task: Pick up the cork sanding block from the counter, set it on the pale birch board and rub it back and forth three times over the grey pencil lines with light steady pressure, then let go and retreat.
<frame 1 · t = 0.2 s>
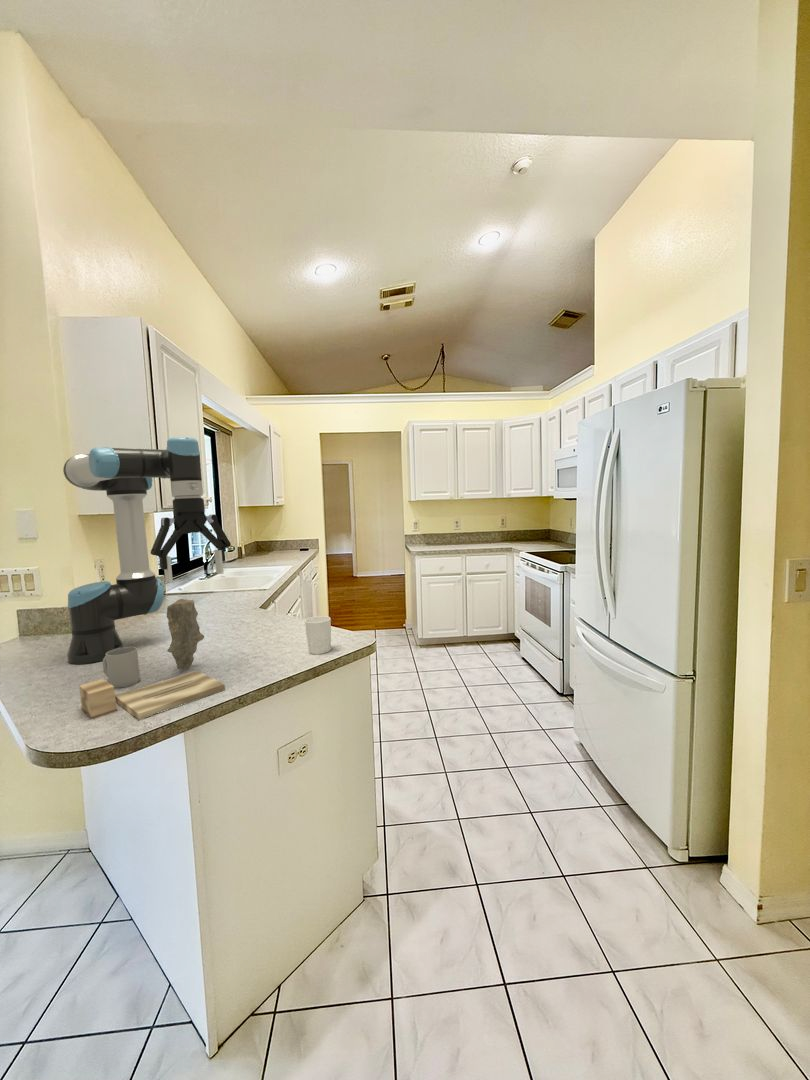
hand: (195, 577, 125), 28 cm above the countertop, fingers open, 13 cm apart
sanding block: (99, 710, 110), on the countertop
board: (171, 695, 116), on the countertop
white cup: (320, 651, 145), on the countertop
stone tool: (188, 669, 135), on the countertop
cup: (120, 683, 127), on the countertop
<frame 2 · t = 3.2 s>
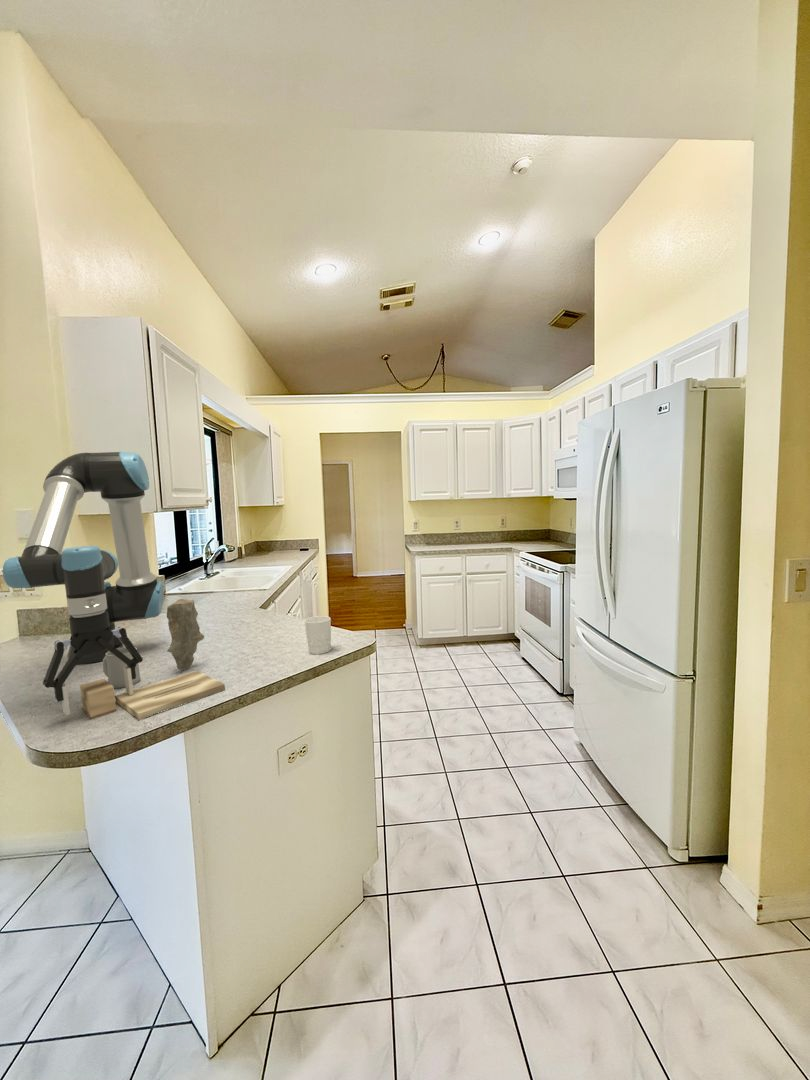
hand: (99, 702, 110), 2 cm above the countertop, fingers open, 12 cm apart
nothing on the countertop moved.
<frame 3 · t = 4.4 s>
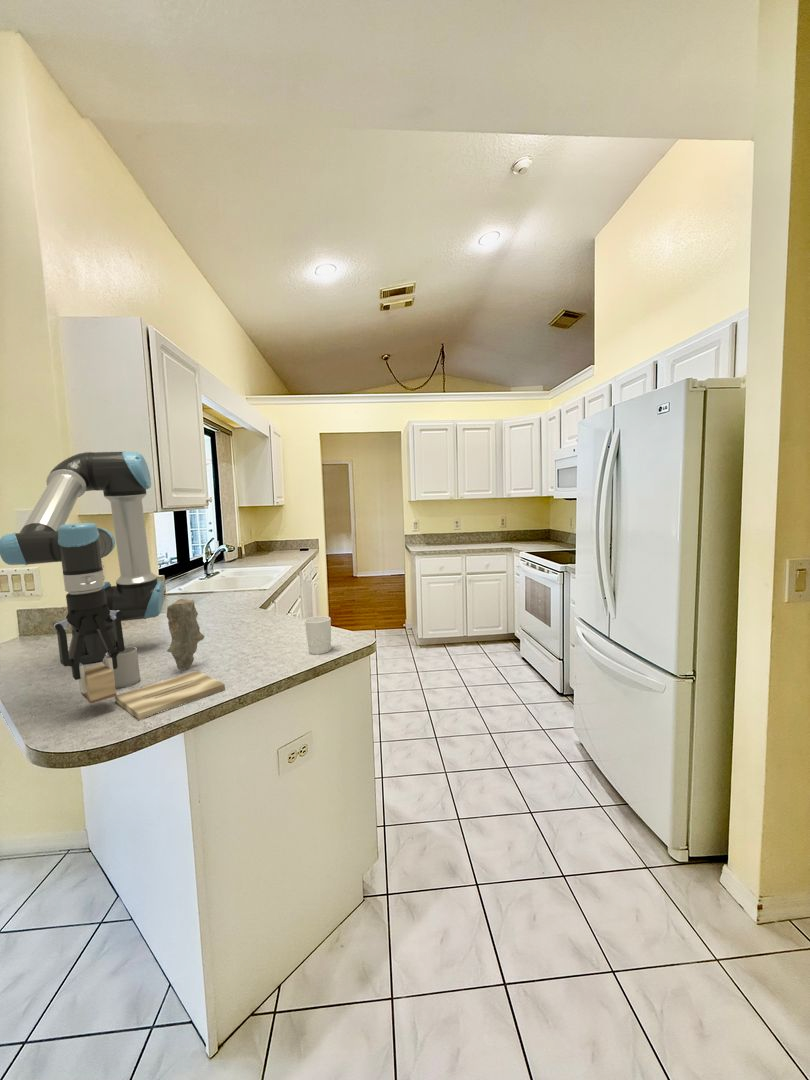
hand: (97, 686, 110), 5 cm above the countertop, fingers closed on sanding block, 5 cm apart
sanding block: (98, 694, 110), point 3 cm above the countertop, touching gripper
everything else where it was.
when the fingers open (3 cm above the countertop, at t = 18.5 s): sanding block stays where it is, resting on board.
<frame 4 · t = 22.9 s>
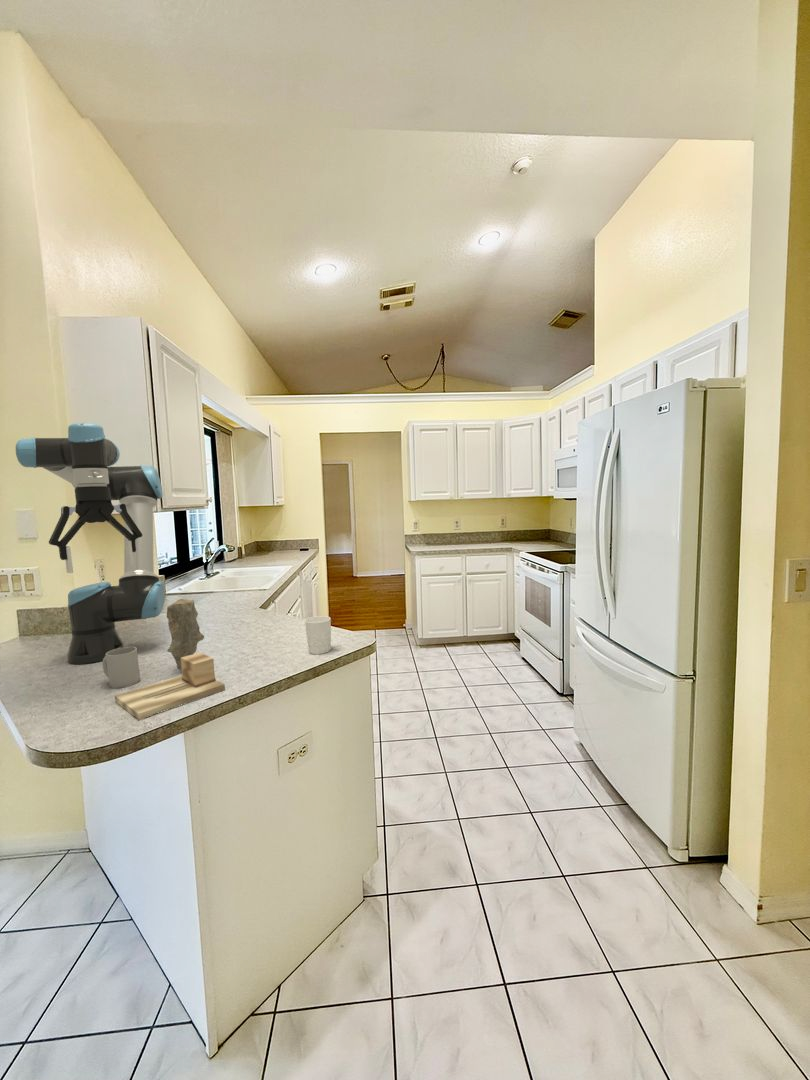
hand: (101, 568, 121), 32 cm above the countertop, fingers open, 13 cm apart
sanding block: (198, 680, 121), point 2 cm above the countertop, touching board
everything else where it was.
at the end: sanding block inside the target area on the board (7.0 cm from its centre), point 1.5 cm above the board's base; sanding block tilted 1°; the gripper is holding nothing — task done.
